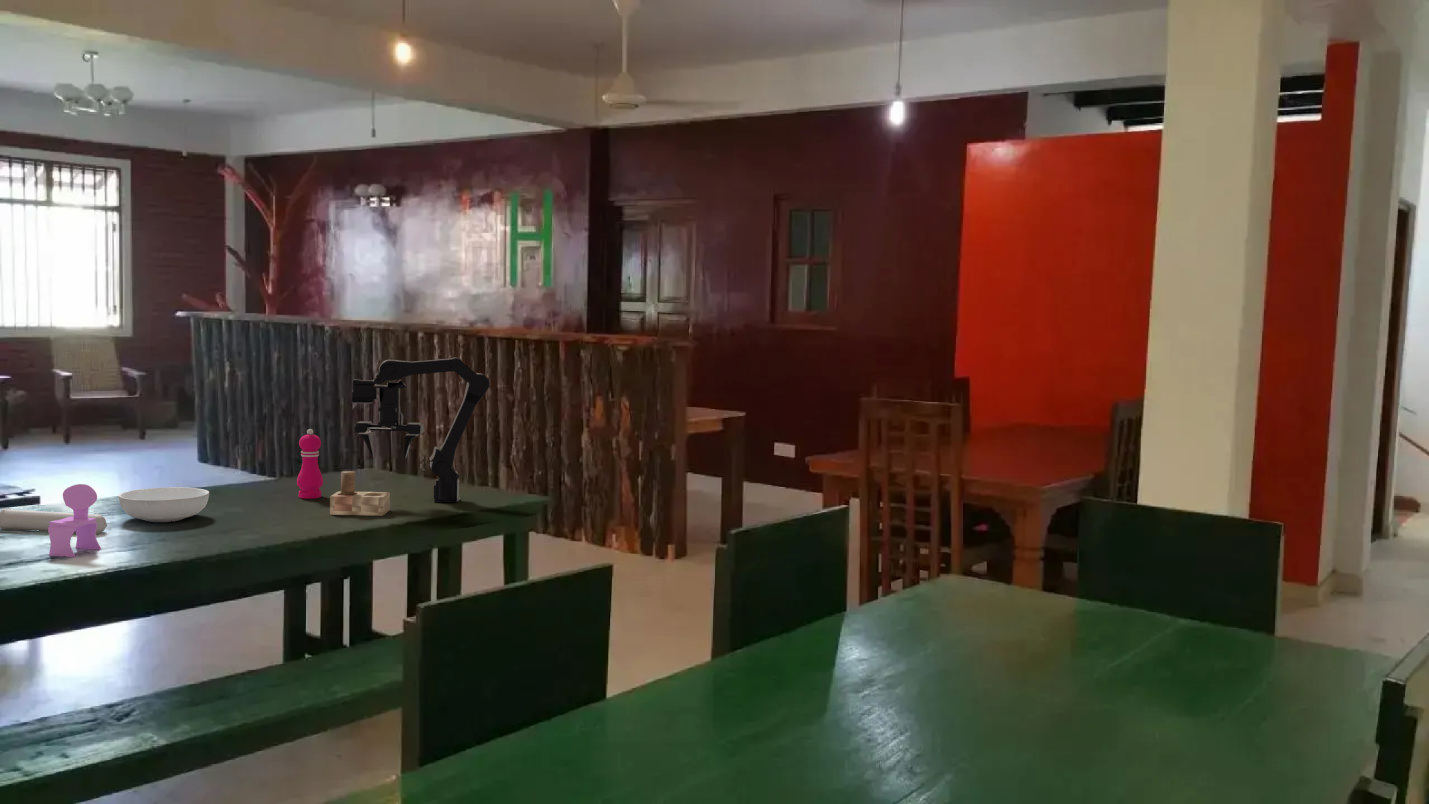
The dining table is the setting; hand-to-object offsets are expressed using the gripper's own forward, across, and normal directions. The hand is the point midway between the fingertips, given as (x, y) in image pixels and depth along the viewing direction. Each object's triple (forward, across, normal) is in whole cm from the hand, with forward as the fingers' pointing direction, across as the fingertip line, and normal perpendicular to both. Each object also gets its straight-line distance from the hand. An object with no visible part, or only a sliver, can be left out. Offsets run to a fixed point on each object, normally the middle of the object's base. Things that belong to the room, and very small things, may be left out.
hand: (388, 457), depth 313 cm
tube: (+14, +68, +47) cm, 84 cm away
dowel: (+12, +7, +16) cm, 21 cm away
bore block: (+13, +4, +16) cm, 21 cm away
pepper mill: (+13, +24, -6) cm, 28 cm away
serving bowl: (+13, +50, +30) cm, 60 cm away
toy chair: (+13, +53, +69) cm, 88 cm away
